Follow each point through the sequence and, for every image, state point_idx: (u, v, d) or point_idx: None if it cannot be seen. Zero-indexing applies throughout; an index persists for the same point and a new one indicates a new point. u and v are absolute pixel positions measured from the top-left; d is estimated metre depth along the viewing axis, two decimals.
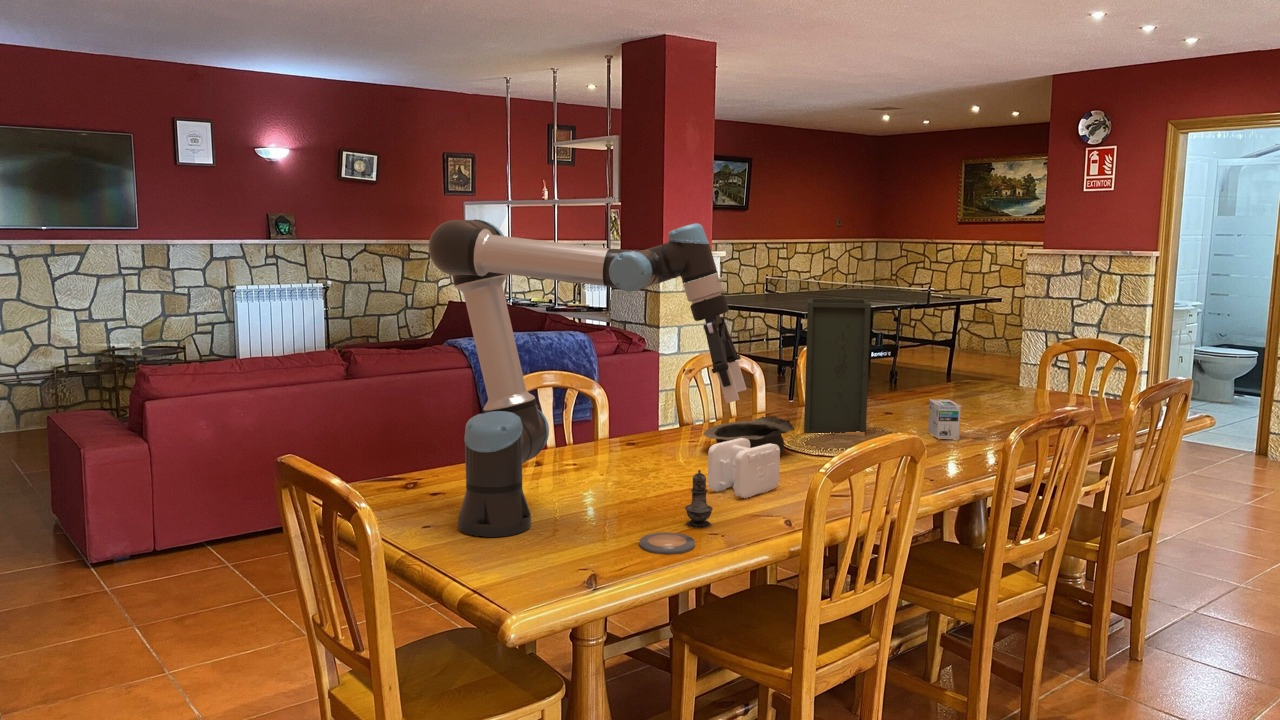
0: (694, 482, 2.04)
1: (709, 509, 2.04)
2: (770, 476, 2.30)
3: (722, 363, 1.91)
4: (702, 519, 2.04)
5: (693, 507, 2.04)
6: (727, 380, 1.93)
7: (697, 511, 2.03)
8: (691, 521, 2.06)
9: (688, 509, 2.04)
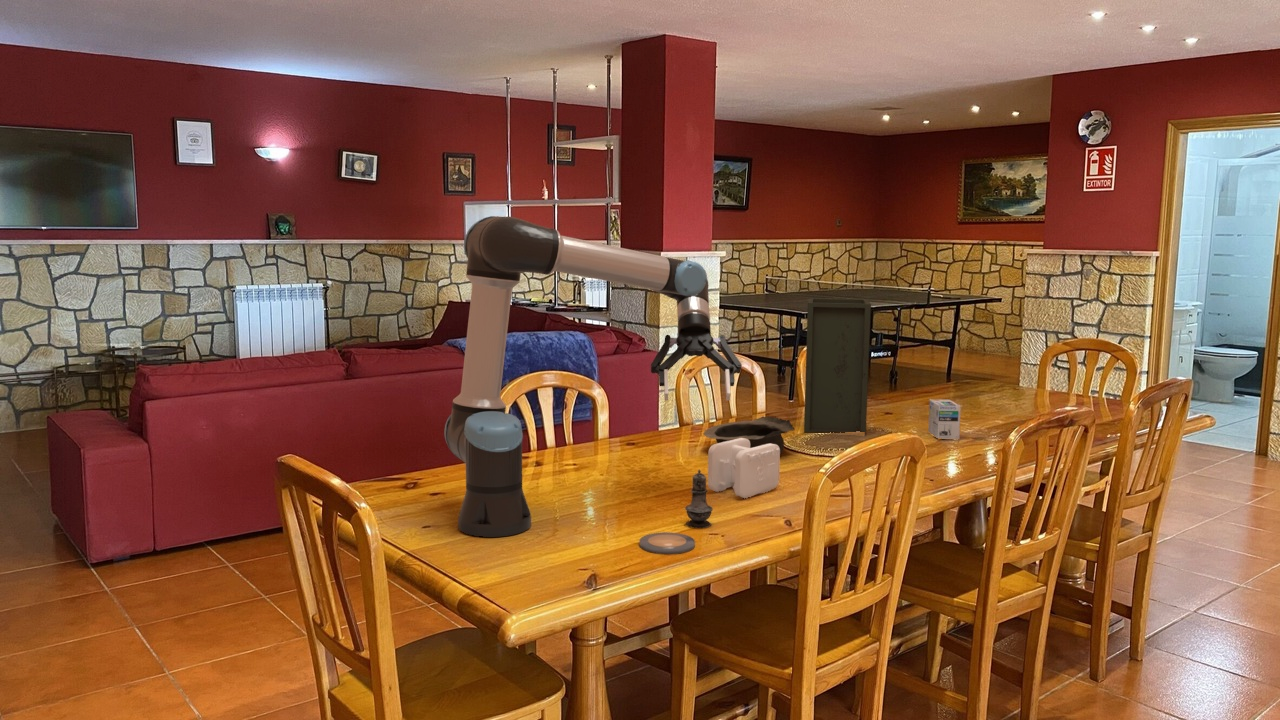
0: (694, 482, 2.04)
1: (709, 509, 2.04)
2: (770, 476, 2.30)
3: None
4: (702, 519, 2.04)
5: (693, 507, 2.04)
6: None
7: (697, 511, 2.03)
8: (691, 521, 2.06)
9: (688, 509, 2.04)
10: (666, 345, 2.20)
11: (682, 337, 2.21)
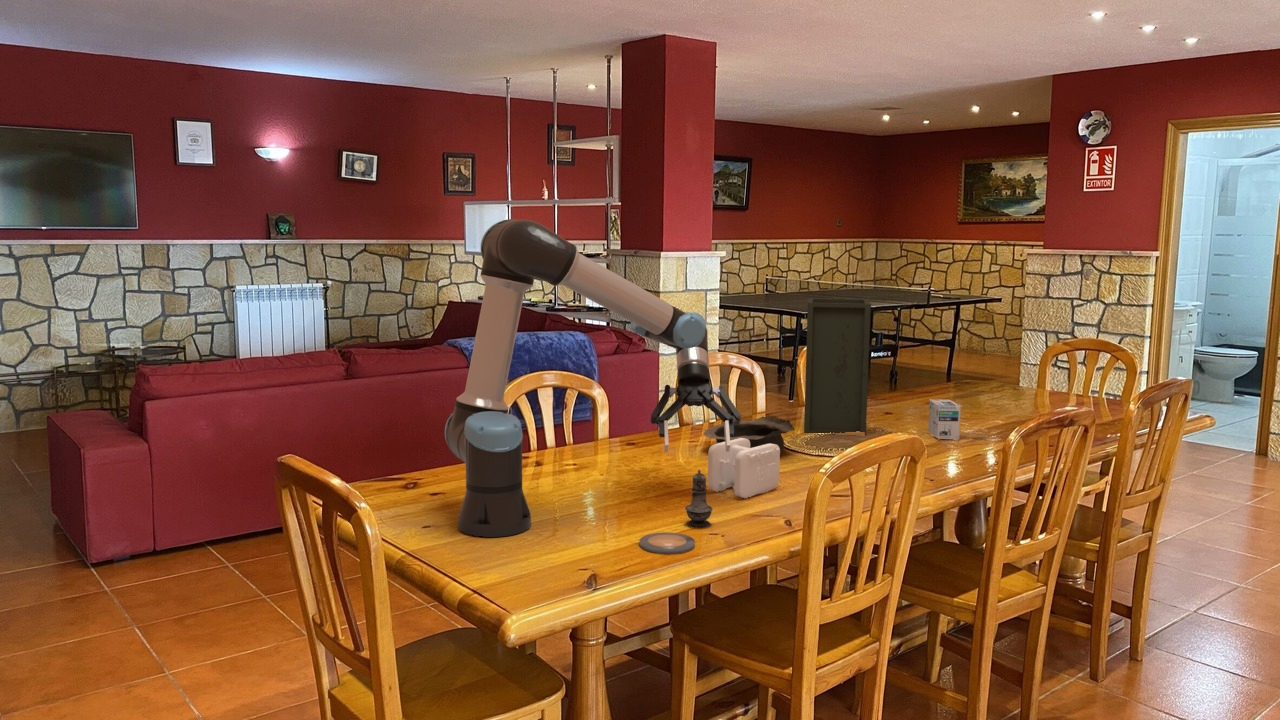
0: (694, 482, 2.04)
1: (709, 509, 2.04)
2: (770, 476, 2.30)
3: None
4: (702, 519, 2.04)
5: (693, 507, 2.04)
6: None
7: (697, 511, 2.03)
8: (691, 521, 2.06)
9: (688, 509, 2.04)
10: (666, 395, 2.21)
11: (682, 387, 2.23)
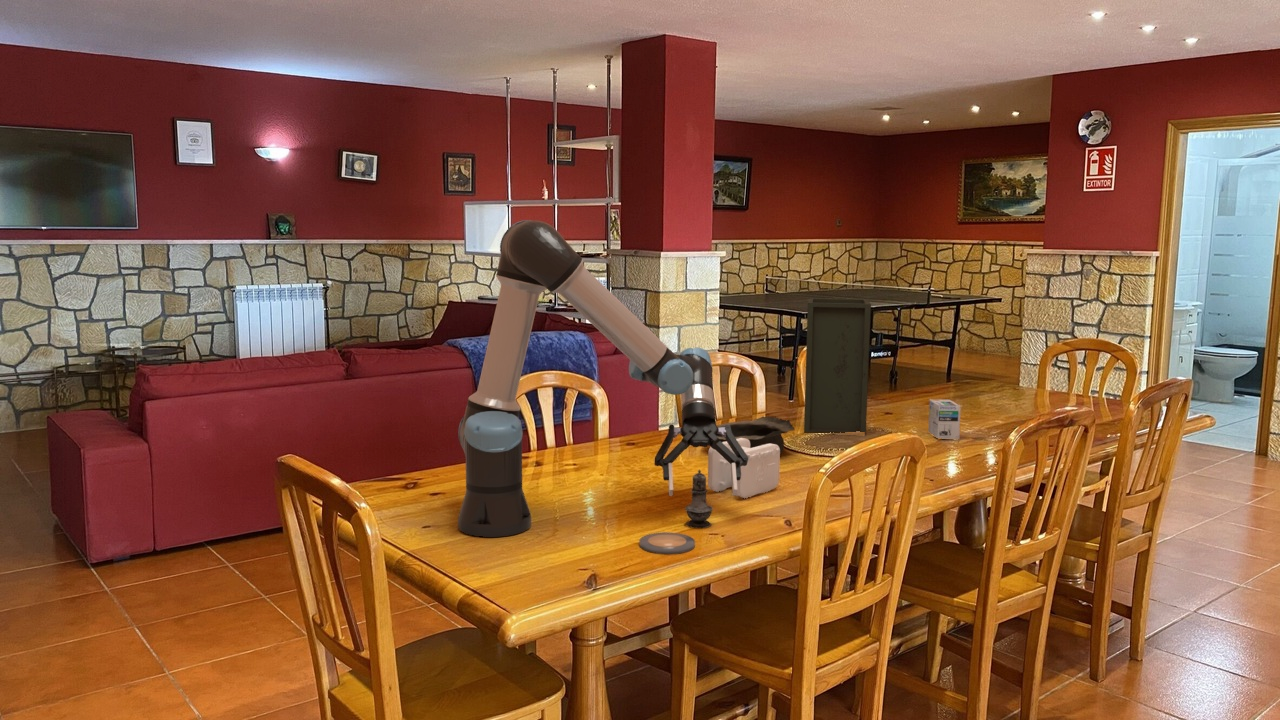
0: (694, 482, 2.04)
1: (709, 509, 2.04)
2: (770, 476, 2.30)
3: None
4: (702, 519, 2.04)
5: (693, 507, 2.04)
6: None
7: (697, 511, 2.03)
8: (691, 521, 2.06)
9: (688, 509, 2.04)
10: (670, 436, 2.13)
11: (686, 427, 2.15)
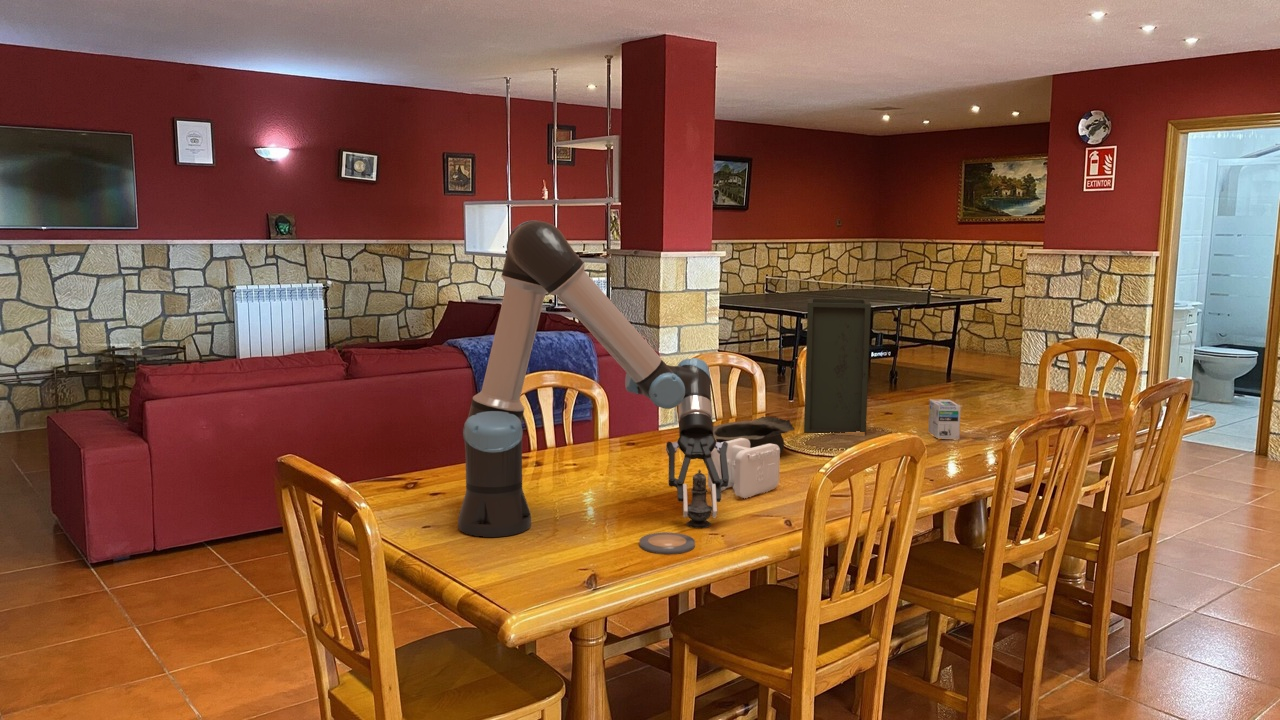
0: (694, 482, 2.04)
1: (709, 509, 2.04)
2: (770, 476, 2.30)
3: None
4: (702, 519, 2.04)
5: (693, 507, 2.04)
6: None
7: (697, 511, 2.03)
8: (691, 521, 2.06)
9: (688, 509, 2.04)
10: (673, 453, 2.09)
11: (683, 439, 2.12)
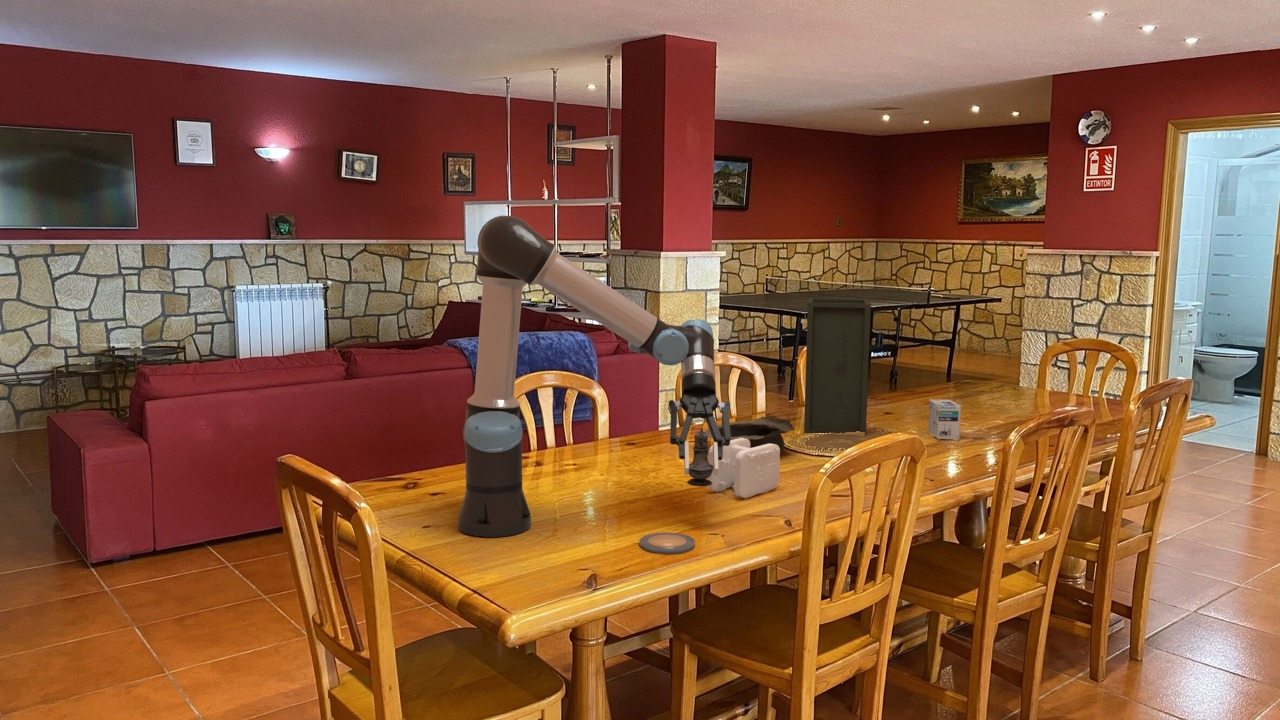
0: (696, 440, 2.03)
1: (710, 467, 2.03)
2: (770, 476, 2.30)
3: (729, 442, 2.06)
4: (703, 477, 2.03)
5: (694, 465, 2.03)
6: None
7: (698, 469, 2.02)
8: (692, 479, 2.05)
9: (689, 467, 2.03)
10: (675, 411, 2.08)
11: (685, 398, 2.11)
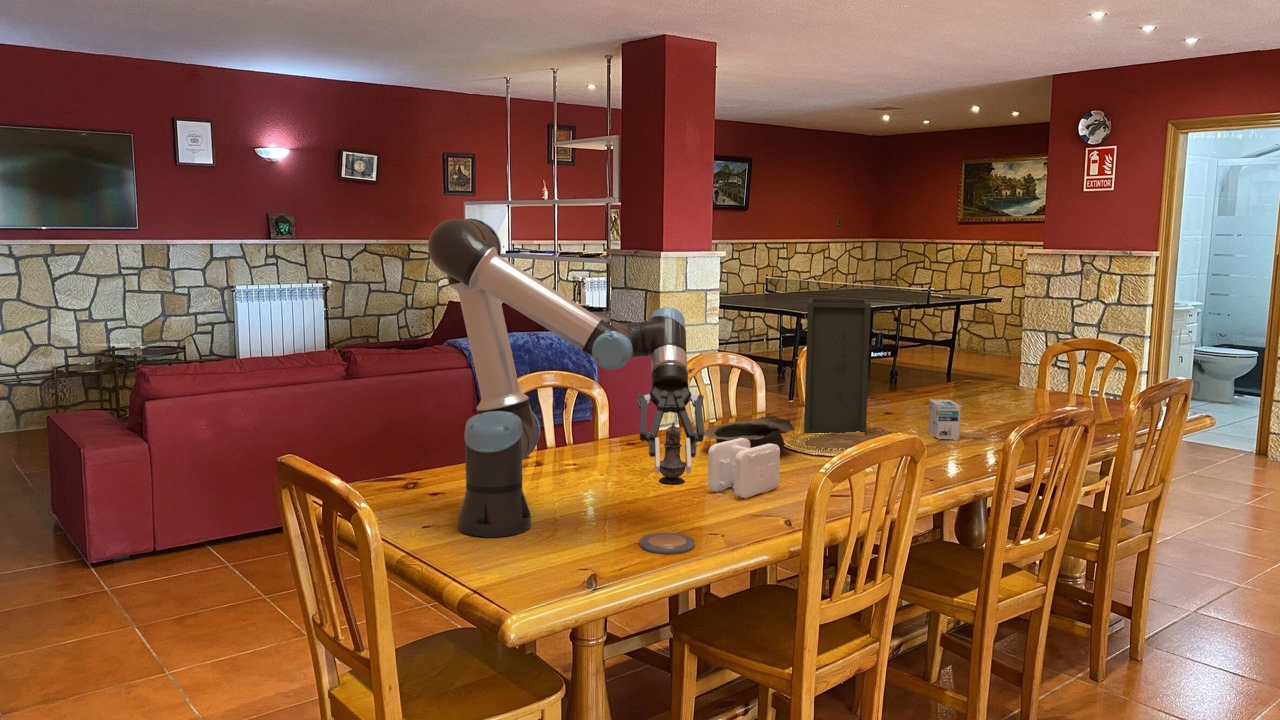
0: (667, 436, 1.90)
1: (683, 465, 1.90)
2: (770, 476, 2.30)
3: (703, 437, 1.94)
4: (675, 475, 1.90)
5: (665, 463, 1.90)
6: None
7: (670, 467, 1.89)
8: (664, 478, 1.93)
9: (661, 465, 1.90)
10: (644, 405, 1.95)
11: (656, 391, 1.98)
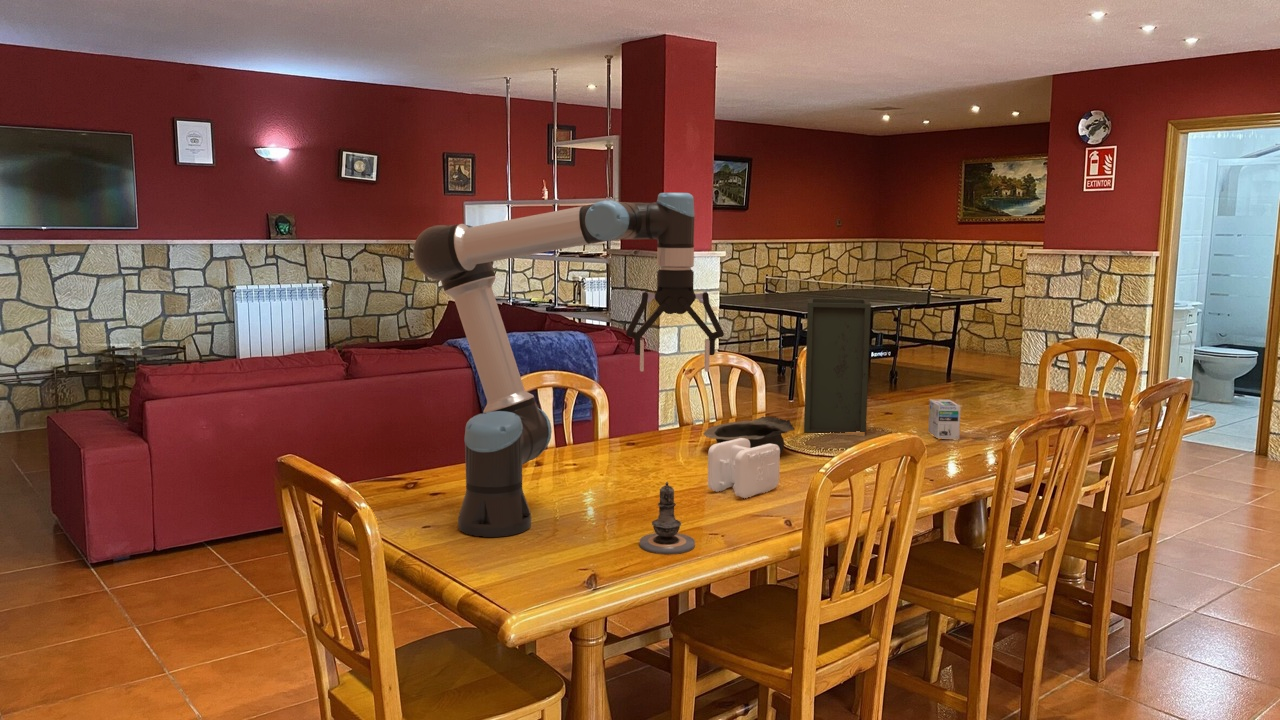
0: (661, 495, 1.90)
1: (677, 524, 1.91)
2: (769, 476, 2.30)
3: None
4: (670, 535, 1.90)
5: (660, 522, 1.91)
6: None
7: (664, 526, 1.90)
8: (658, 537, 1.93)
9: (655, 524, 1.91)
10: (643, 307, 2.00)
11: (661, 295, 2.00)
